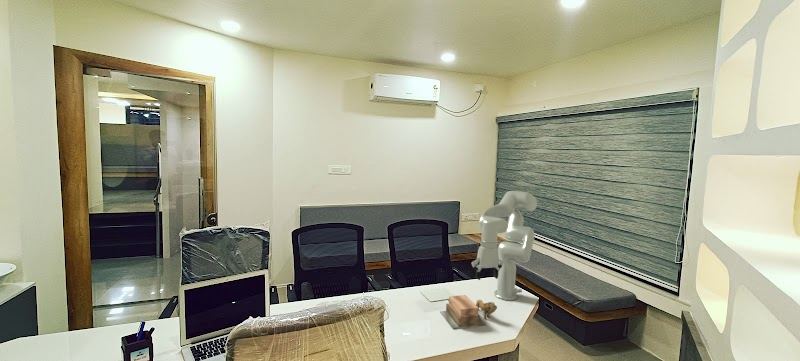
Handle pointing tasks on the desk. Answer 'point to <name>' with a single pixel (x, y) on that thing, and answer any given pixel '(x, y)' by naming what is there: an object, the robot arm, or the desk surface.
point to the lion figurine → (486, 308)
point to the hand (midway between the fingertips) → (486, 278)
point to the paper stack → (437, 294)
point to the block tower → (462, 313)
